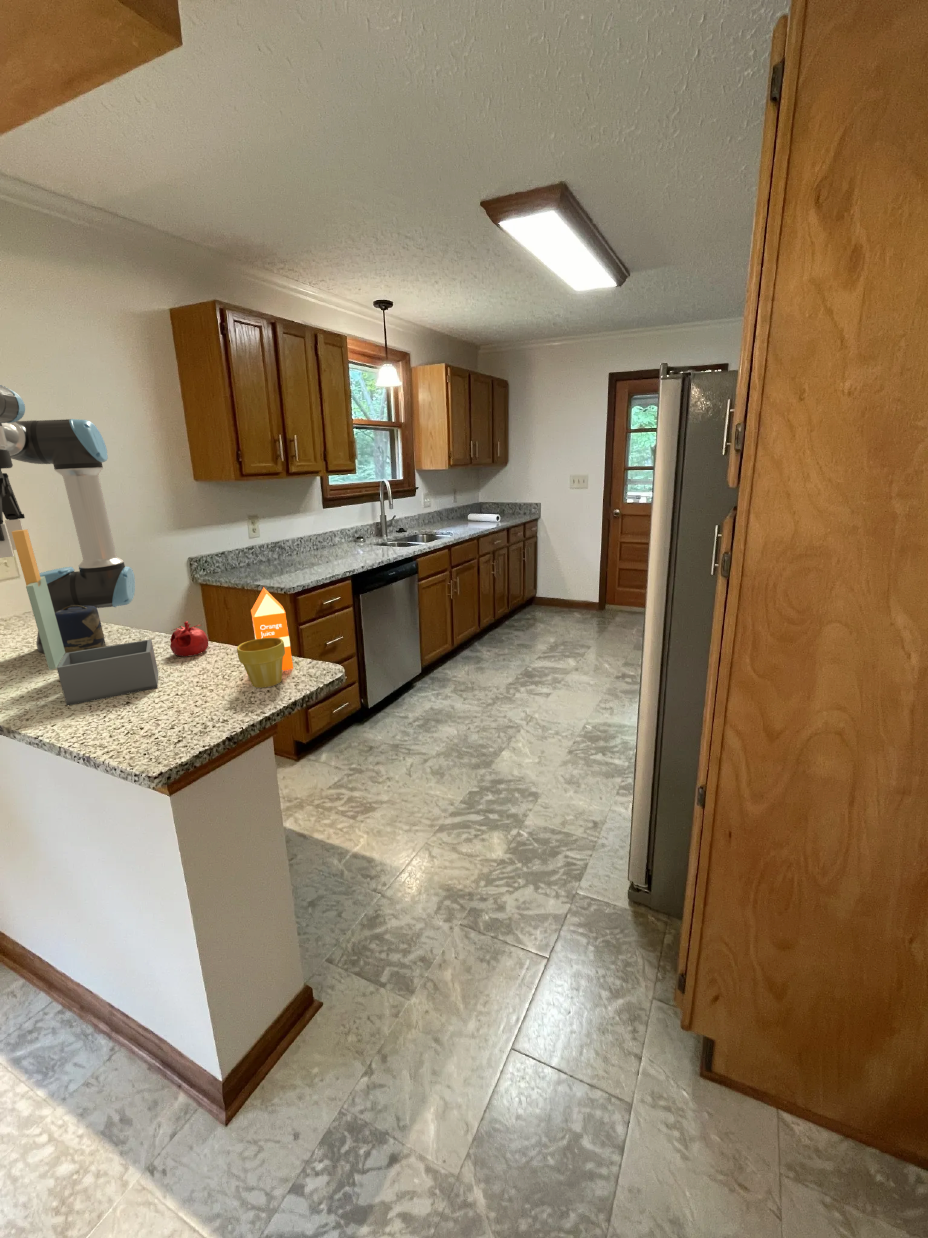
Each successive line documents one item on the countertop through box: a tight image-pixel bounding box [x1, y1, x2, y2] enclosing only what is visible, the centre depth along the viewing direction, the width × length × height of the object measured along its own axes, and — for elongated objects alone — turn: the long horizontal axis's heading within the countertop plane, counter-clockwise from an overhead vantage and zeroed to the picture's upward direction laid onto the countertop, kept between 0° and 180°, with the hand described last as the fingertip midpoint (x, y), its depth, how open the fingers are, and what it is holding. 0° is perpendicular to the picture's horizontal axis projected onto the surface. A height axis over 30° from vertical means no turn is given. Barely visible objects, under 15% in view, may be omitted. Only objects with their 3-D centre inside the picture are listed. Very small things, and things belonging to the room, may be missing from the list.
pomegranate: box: [169, 621, 209, 657], centre depth 155 cm, size 10×10×9 cm
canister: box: [55, 605, 107, 655], centre depth 143 cm, size 10×10×18 cm
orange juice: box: [250, 586, 294, 671], centre depth 140 cm, size 8×9×20 cm
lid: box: [12, 529, 65, 671], centre depth 122 cm, size 13×30×2 cm
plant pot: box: [236, 637, 285, 689], centre depth 130 cm, size 10×10×10 cm
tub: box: [56, 638, 159, 706], centre depth 132 cm, size 12×18×9 cm, turn 117°
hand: (13, 553), depth 119 cm, fingers open, 13 cm apart
